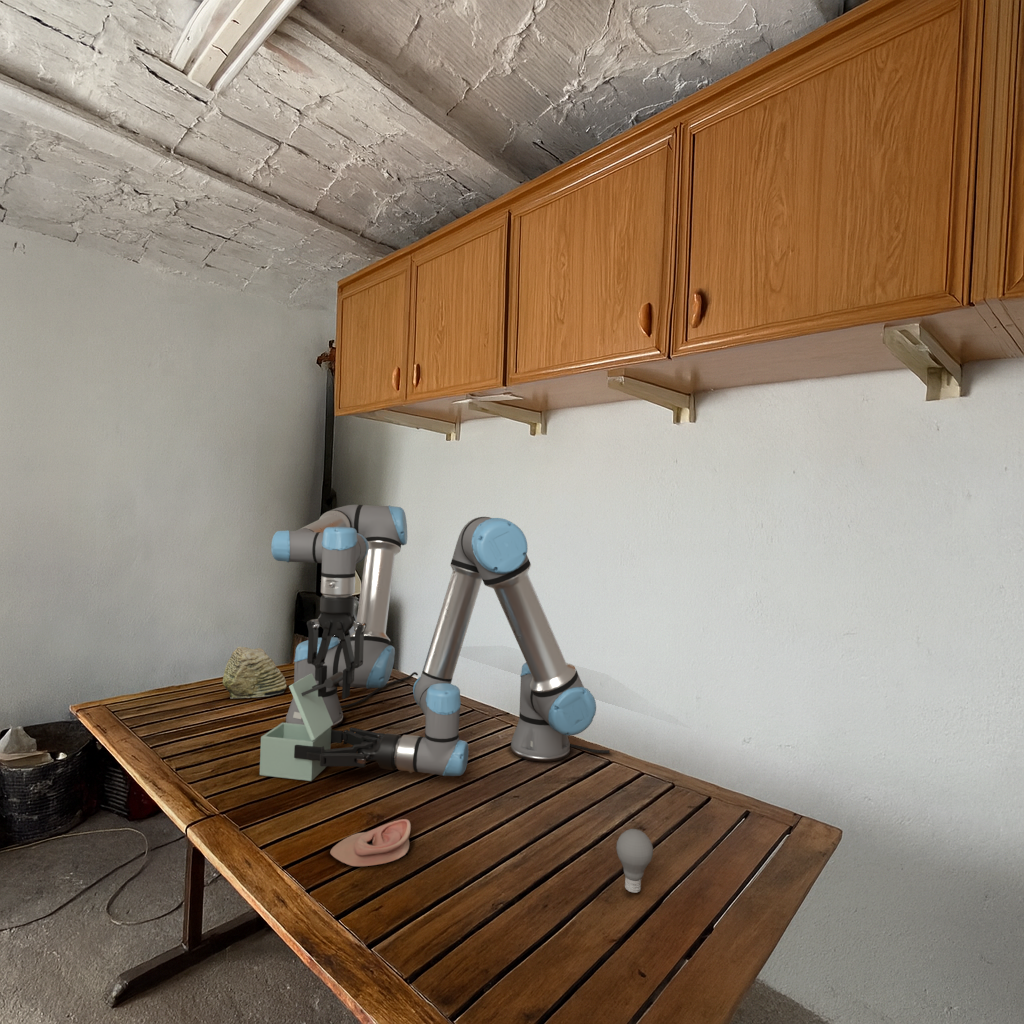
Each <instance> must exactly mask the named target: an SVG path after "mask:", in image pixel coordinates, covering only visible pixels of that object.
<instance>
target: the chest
mask: <svg viewBox="0 0 1024 1024" xmlns="http://www.w3.org/2000/svg"><path fill="white" fill-rule="evenodd" d="M331 730H332V729H331V727H329V728H328V729H327V730H326V731H324V732H323V733H322V734H321V735H320V736H318V737H317V738H316V739H314V740H312V741H311V739H310V737H309V734H308V732H307V729H306V727H305V725H303V724H293V723H286V722H284V721H283V722H281V723H279V724H278V725H277V726H274V728H272V729H271V730H269V731H267V732H266V733H264V734H263V735H261V736H260V753H259V754H260V755H259V776H265V777H273V778H282V779H289V780H290V779H291V780H298V781H306V782H307V781H308V782H312V781H313V780H314V779H316V778H317V776H319V774H321V773H322V772H324V770H325V769H326V768H327V767H328V766H320V761H318V760H309V759H300V758H294V748H295V745H305V746H315V747H323V746H324V750H326V749H332V744H331V743H332V742H331Z"/></svg>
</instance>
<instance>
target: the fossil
mask: <svg viewBox="0 0 1024 1024" xmlns="http://www.w3.org/2000/svg"><path fill="white" fill-rule="evenodd" d="M222 676H223V677H222V685H223V687H224V688H225V690H226V691H228V693H229V698H230V699H250V698H264V697H271V696H275V695H281V694H284V693H285V691H286V689H287V687H288V686H287V680H286V678H285V676H284V674H283V673H282V672H281V669H279V668H278V667H277V665H276V663H275V662H274V660H273V659H272V658H271V657H270V656H269V655H268V654H267V653H266V652H265V650H264V649H263V648H260V647H258V648H251V647H247V646H246V647H245V646H238V647H237V648H236V649H235V650H233V651H232V653H231V656H230V657H229V659H228V660H227V663H226V666H225V668H224V671H223V675H222Z"/></svg>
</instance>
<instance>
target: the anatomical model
mask: <svg viewBox="0 0 1024 1024" xmlns="http://www.w3.org/2000/svg"><path fill="white" fill-rule="evenodd" d="M411 825H412V824H411V822H410V820H409V819H406V818H404V819H403V818H402V819H396V820H394V821H391V822H387V823H385V824H382V825H380V826H377V827H375V828H373V829H370V830H367V831H363V832H358V833H354V834H352V835H349V836H348V837H345V838H344V839H342V840H341V841H339V842H338V843H336V844H335V845H334V846H332V848H331V849H330V850H329V851H330V852H329V854H330V855H331V856H332V857H333V858H334V859H335V860H337V861H339V862H341V863H342V864H344V865H345V864H346V865H347V866H351V867H368V866H369V867H370V866H377V865H383V864H387V863H391V862H394V861H397V860H399V859H400V858H402V857H404V856H405V855H406V854H407V853H408V852H409V849H410V839H409V837H410V834H411V830H412V829H411V828H412V826H411Z"/></svg>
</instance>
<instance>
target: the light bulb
mask: <svg viewBox="0 0 1024 1024" xmlns="http://www.w3.org/2000/svg"><path fill="white" fill-rule="evenodd" d="M615 849H616V854H617V857H618V859H619V861H620V863H621V865H622V867H623V873H624V874H623V875H624V876H625V878H624V888H625V890H627V891H628V892H630V893H634V894H635V893H639V892H640V891H641V889H642V887H641V886H642V879H643V877H644V875H645V871H646V868H647V867H648V866H649V864H650V863H651V861H652V859H653V855H654V847H653V843H652V841H651V838H649V836H648V835H647V834H646V833H645V832H643V831H642V830H641V829H636V828H629V829H627V830H625V831H623V832H622V833H621V834H620V835H619V837H618V839H617V841H616V847H615Z"/></svg>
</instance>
